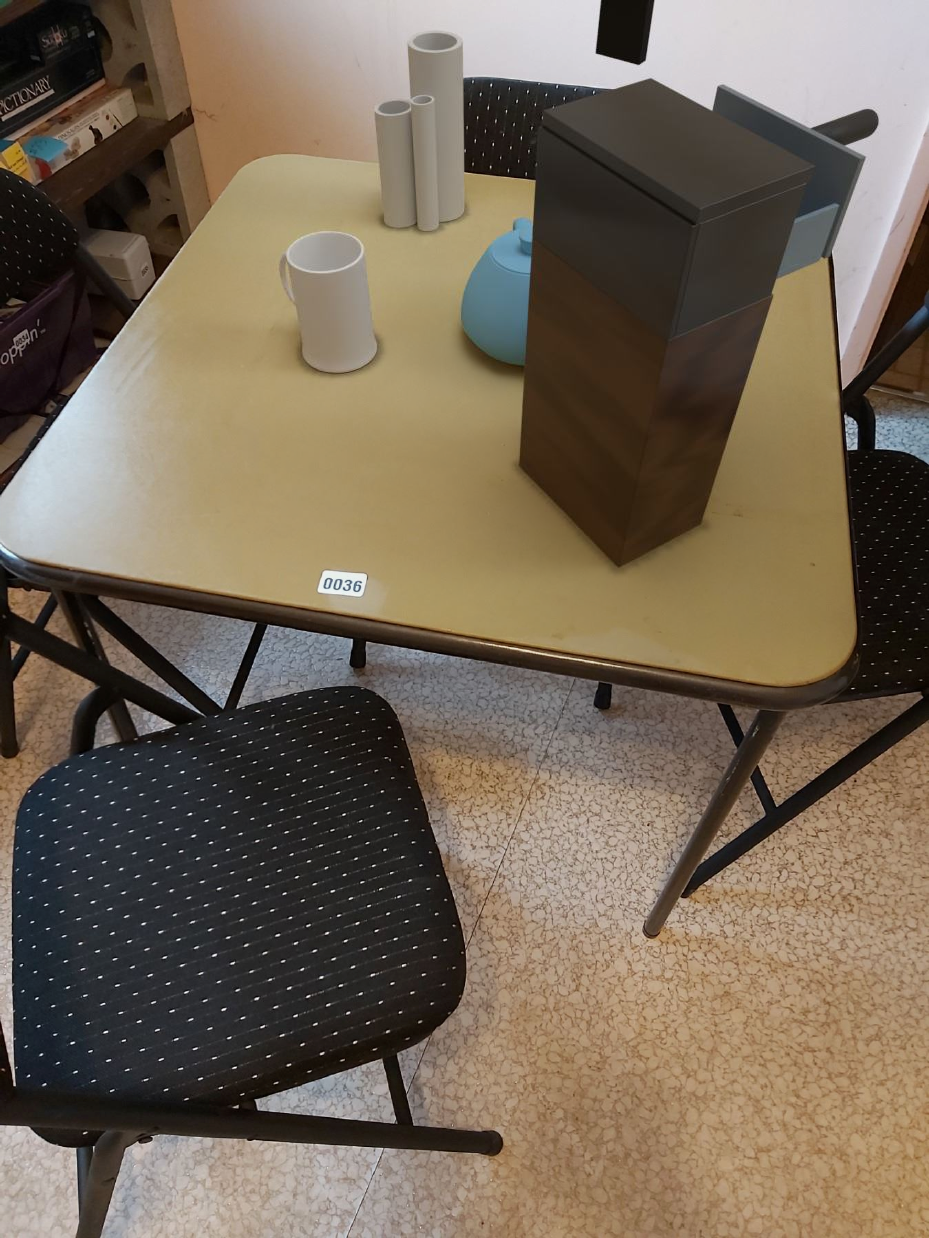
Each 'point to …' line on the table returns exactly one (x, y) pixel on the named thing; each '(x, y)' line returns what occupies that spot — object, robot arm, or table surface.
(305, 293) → the mug
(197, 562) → the table surface
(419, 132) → the vase
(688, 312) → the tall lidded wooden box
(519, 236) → the teapot
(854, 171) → the top drawer
